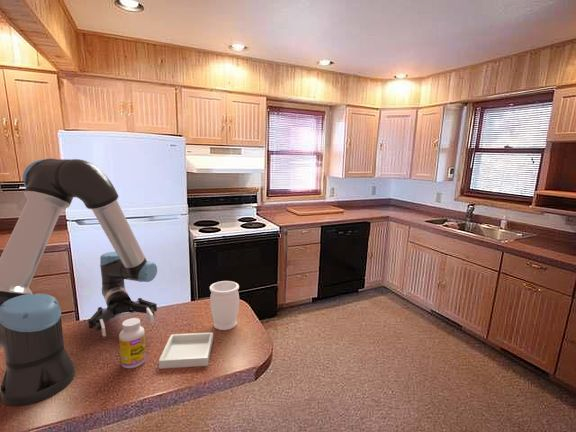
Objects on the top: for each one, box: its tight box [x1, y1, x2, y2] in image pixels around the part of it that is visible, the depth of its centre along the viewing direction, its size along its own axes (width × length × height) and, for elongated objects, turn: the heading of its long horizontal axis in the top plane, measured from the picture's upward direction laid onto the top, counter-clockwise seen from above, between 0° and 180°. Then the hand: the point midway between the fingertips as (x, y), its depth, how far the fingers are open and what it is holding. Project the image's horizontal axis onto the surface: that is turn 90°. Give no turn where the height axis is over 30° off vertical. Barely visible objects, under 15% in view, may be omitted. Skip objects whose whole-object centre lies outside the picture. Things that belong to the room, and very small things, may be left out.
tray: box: [158, 331, 214, 370], centre depth 94 cm, size 14×14×2 cm
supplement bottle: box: [118, 317, 147, 369], centre depth 88 cm, size 7×7×13 cm
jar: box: [209, 280, 240, 331], centre depth 109 cm, size 11×10×15 cm
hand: (129, 325), depth 94 cm, fingers open, 13 cm apart
